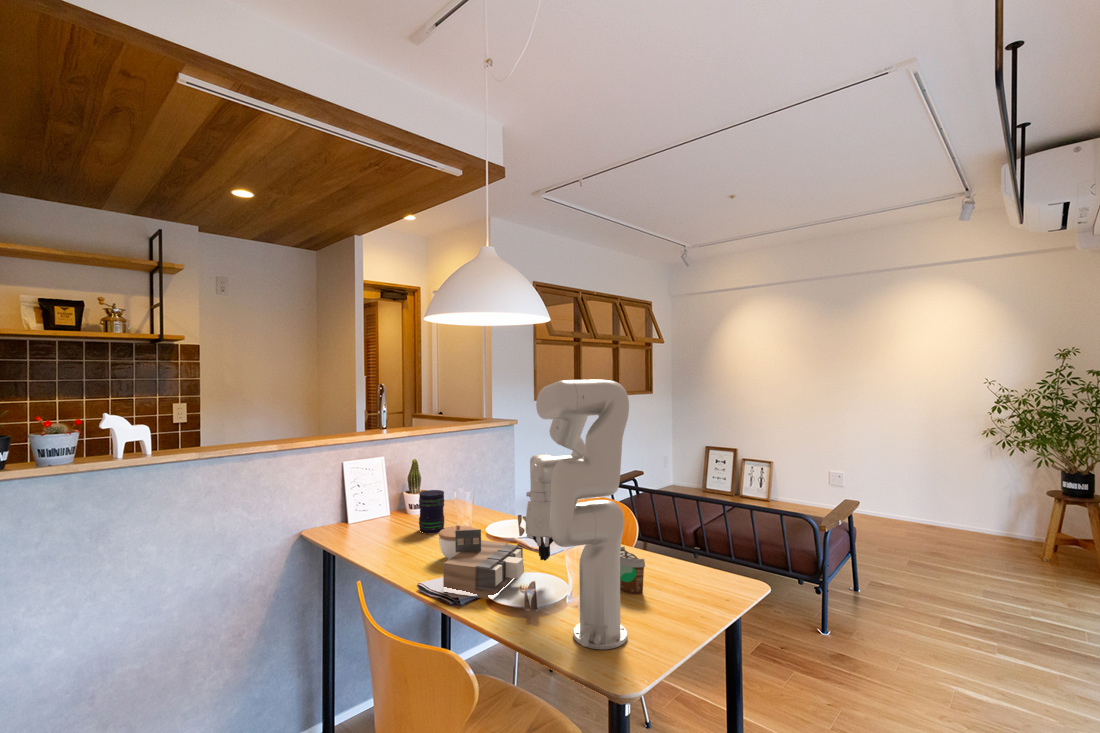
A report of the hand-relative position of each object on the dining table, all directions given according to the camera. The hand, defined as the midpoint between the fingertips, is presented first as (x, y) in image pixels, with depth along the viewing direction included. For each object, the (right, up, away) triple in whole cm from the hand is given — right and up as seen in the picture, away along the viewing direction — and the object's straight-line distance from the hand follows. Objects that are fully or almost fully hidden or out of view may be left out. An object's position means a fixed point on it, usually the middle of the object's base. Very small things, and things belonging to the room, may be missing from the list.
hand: (544, 558), depth 155 cm
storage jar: (-45, -8, +53) cm, 70 cm away
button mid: (-9, -4, -3) cm, 10 cm away
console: (-18, -7, +1) cm, 20 cm away
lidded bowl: (-29, -8, +20) cm, 36 cm away
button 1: (-15, -4, -8) cm, 17 cm away
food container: (+23, -7, -6) cm, 25 cm away
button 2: (-10, -4, +5) cm, 12 cm away
